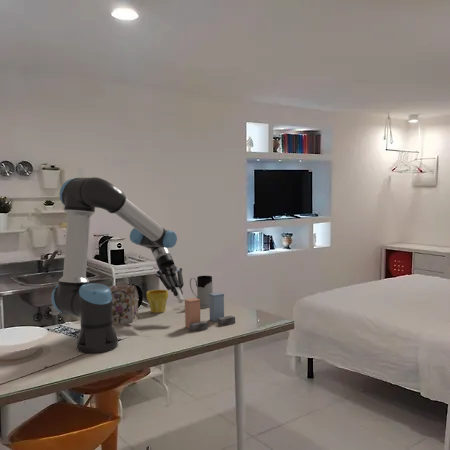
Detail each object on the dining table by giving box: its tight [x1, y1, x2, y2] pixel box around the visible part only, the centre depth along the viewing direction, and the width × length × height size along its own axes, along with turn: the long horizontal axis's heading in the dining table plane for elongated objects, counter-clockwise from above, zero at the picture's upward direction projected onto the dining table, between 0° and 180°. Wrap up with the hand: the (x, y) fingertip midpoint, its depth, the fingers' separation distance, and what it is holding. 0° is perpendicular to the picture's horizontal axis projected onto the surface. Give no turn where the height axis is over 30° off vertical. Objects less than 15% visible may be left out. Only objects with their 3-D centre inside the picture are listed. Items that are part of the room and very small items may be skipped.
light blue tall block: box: [209, 291, 225, 322], centre depth 210 cm, size 5×4×12 cm
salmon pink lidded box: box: [184, 297, 201, 330], centre depth 200 cm, size 5×4×12 cm
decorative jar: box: [109, 281, 139, 326], centre depth 214 cm, size 12×12×18 cm
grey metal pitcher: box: [189, 275, 214, 309], centre depth 242 cm, size 9×14×15 cm, turn 53°
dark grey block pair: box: [189, 315, 236, 333], centre depth 205 cm, size 26×14×4 cm, turn 125°
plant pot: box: [146, 289, 169, 314], centre depth 232 cm, size 10×10×10 cm
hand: (181, 301), depth 208 cm, fingers closed
